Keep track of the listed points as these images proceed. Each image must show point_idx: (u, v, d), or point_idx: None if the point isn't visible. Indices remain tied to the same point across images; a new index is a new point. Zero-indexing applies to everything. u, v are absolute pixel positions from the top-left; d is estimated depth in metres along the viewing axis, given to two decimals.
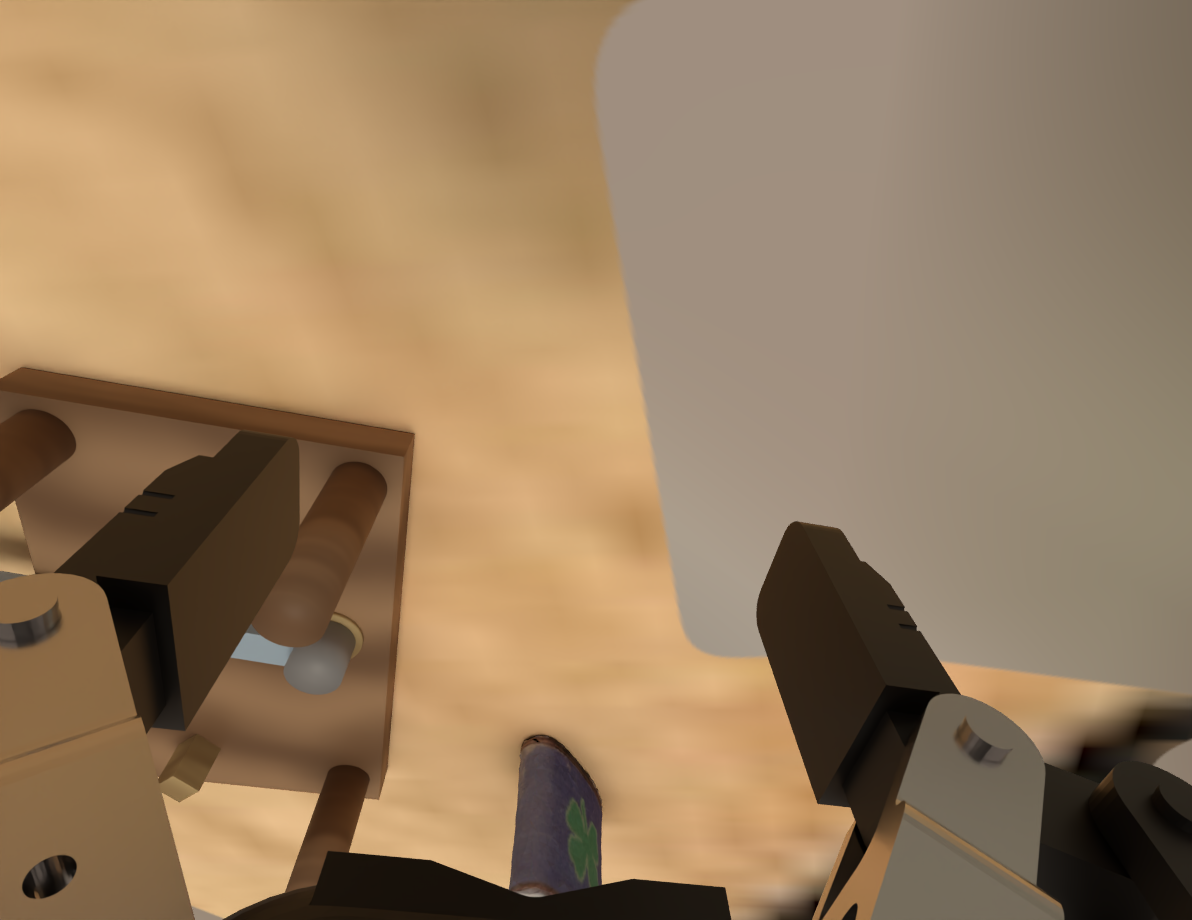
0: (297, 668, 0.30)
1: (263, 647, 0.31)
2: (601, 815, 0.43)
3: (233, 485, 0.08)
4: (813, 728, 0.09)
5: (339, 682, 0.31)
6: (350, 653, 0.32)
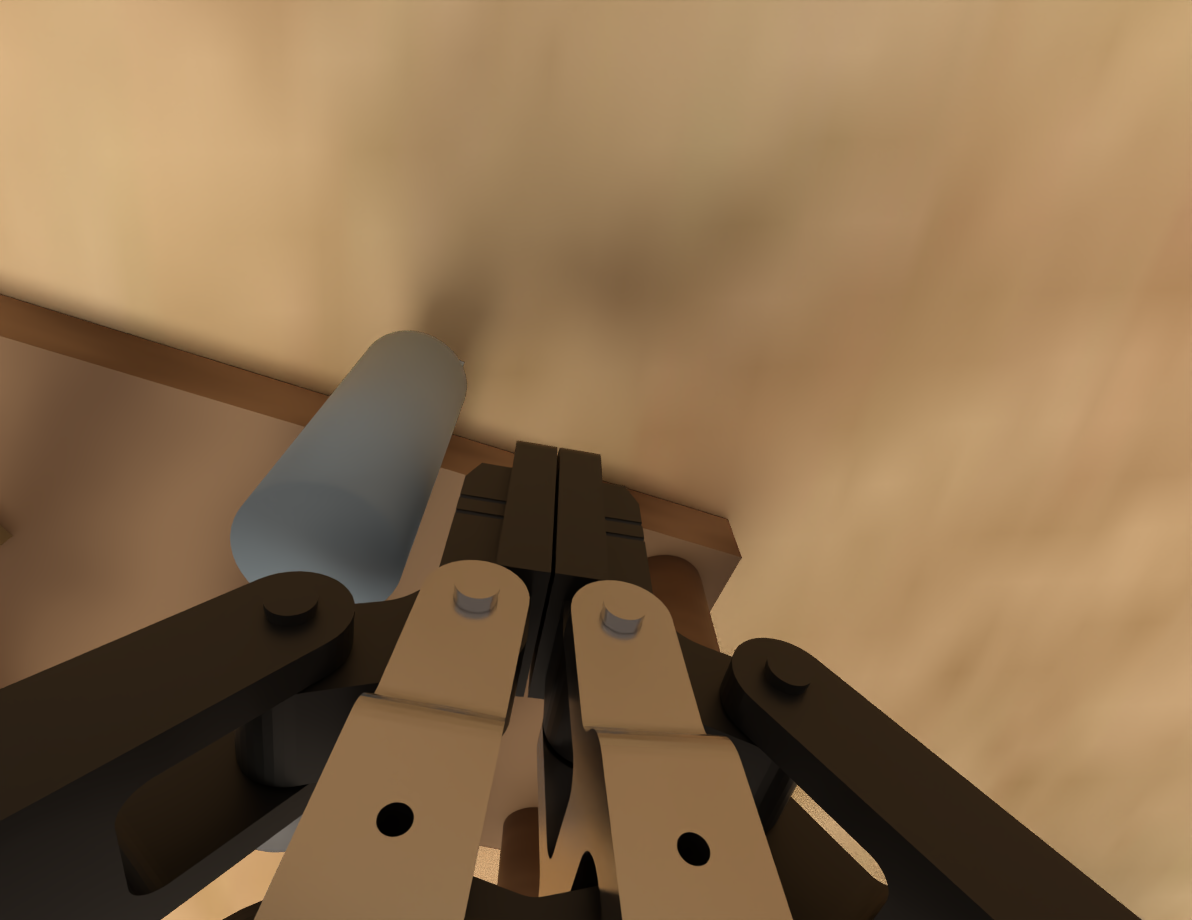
0: None
1: None
2: None
3: (543, 489, 0.10)
4: None
5: None
6: None
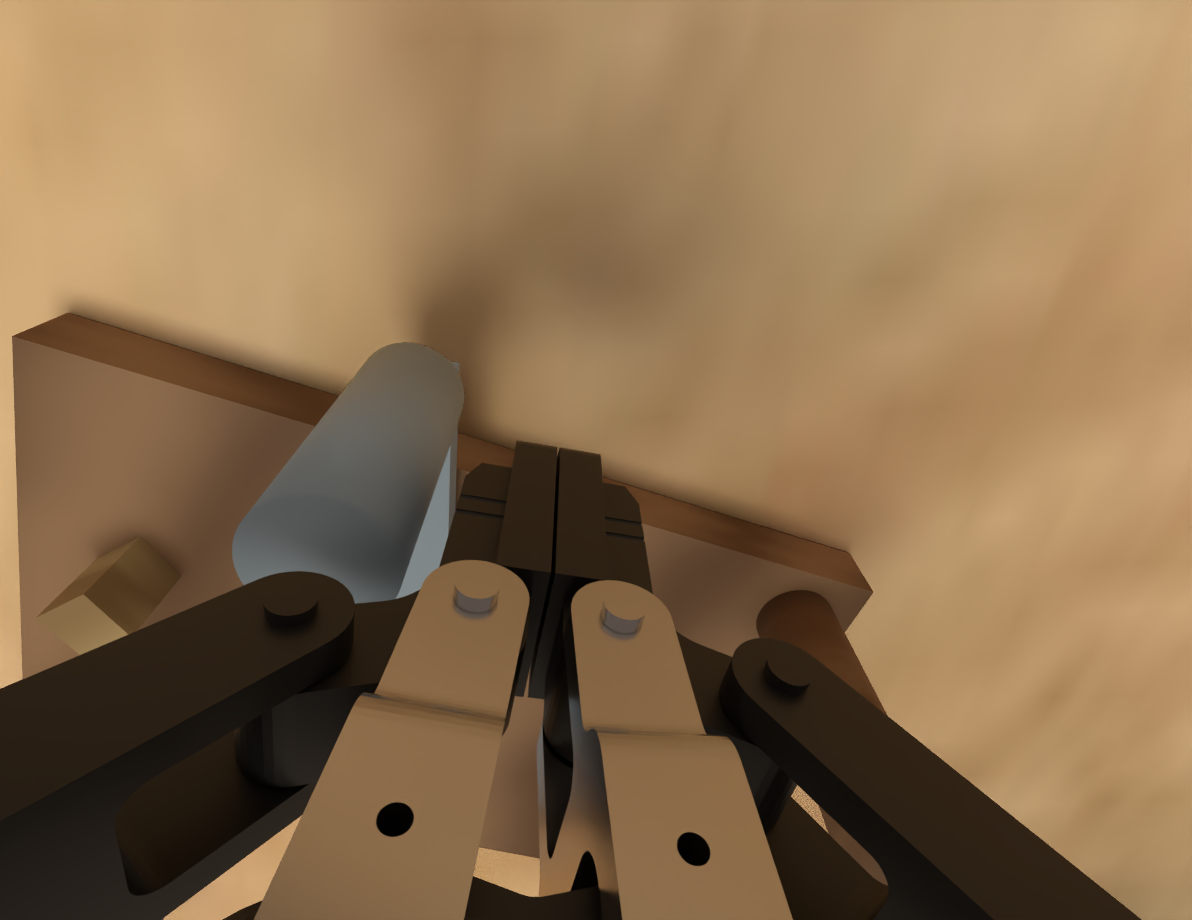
0: None
1: None
2: None
3: (543, 489, 0.10)
4: None
5: None
6: None
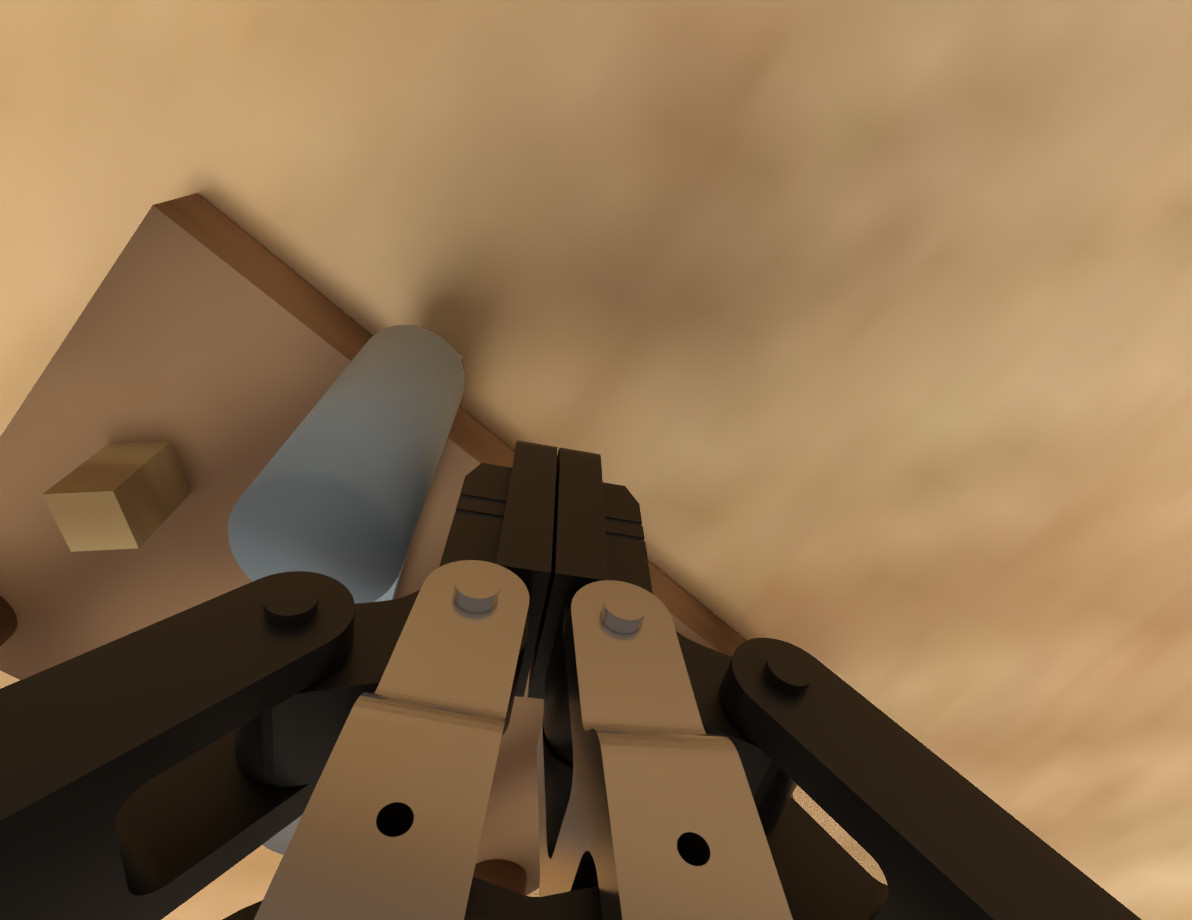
0: None
1: None
2: None
3: (542, 489, 0.10)
4: None
5: (283, 853, 0.22)
6: None
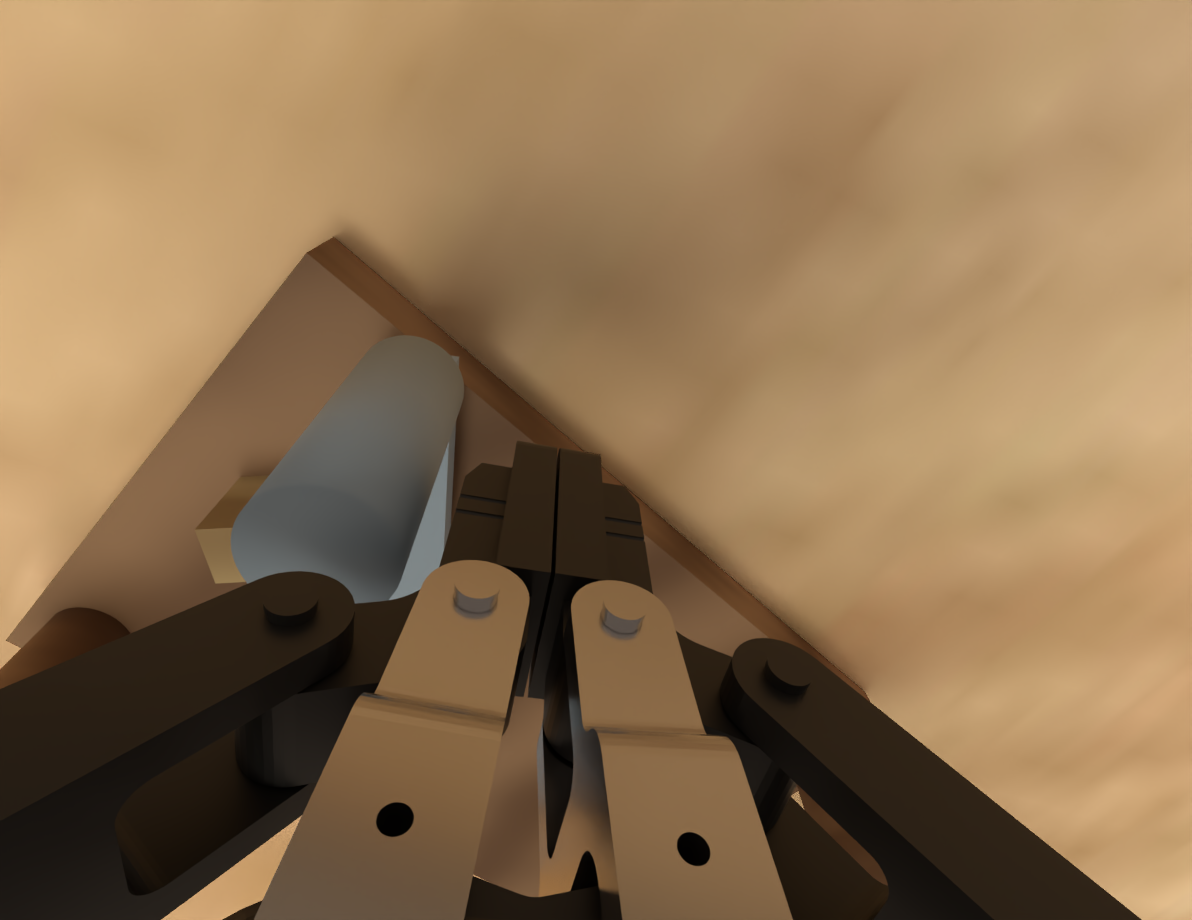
0: None
1: None
2: None
3: (543, 489, 0.10)
4: None
5: None
6: None
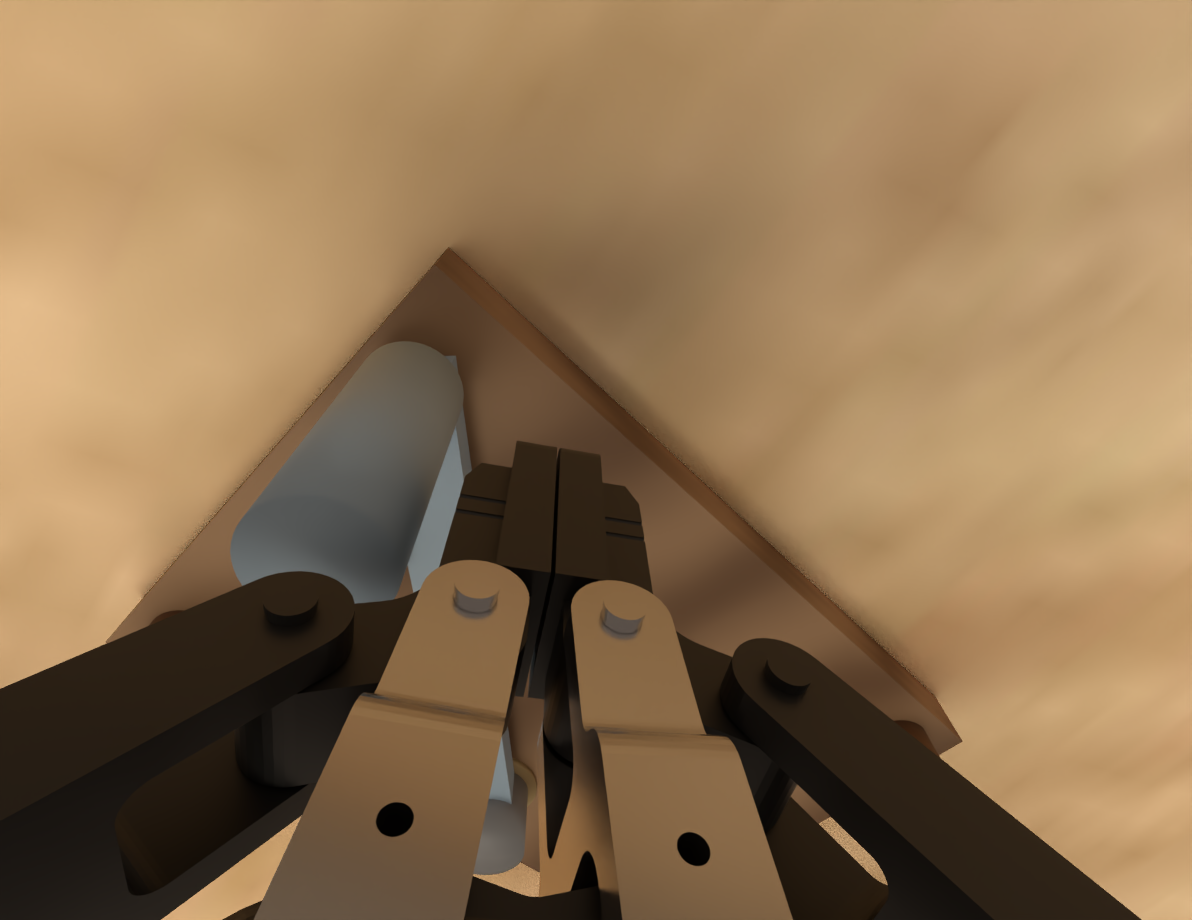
0: (491, 838, 0.22)
1: None
2: None
3: (543, 489, 0.10)
4: None
5: (483, 873, 0.23)
6: None
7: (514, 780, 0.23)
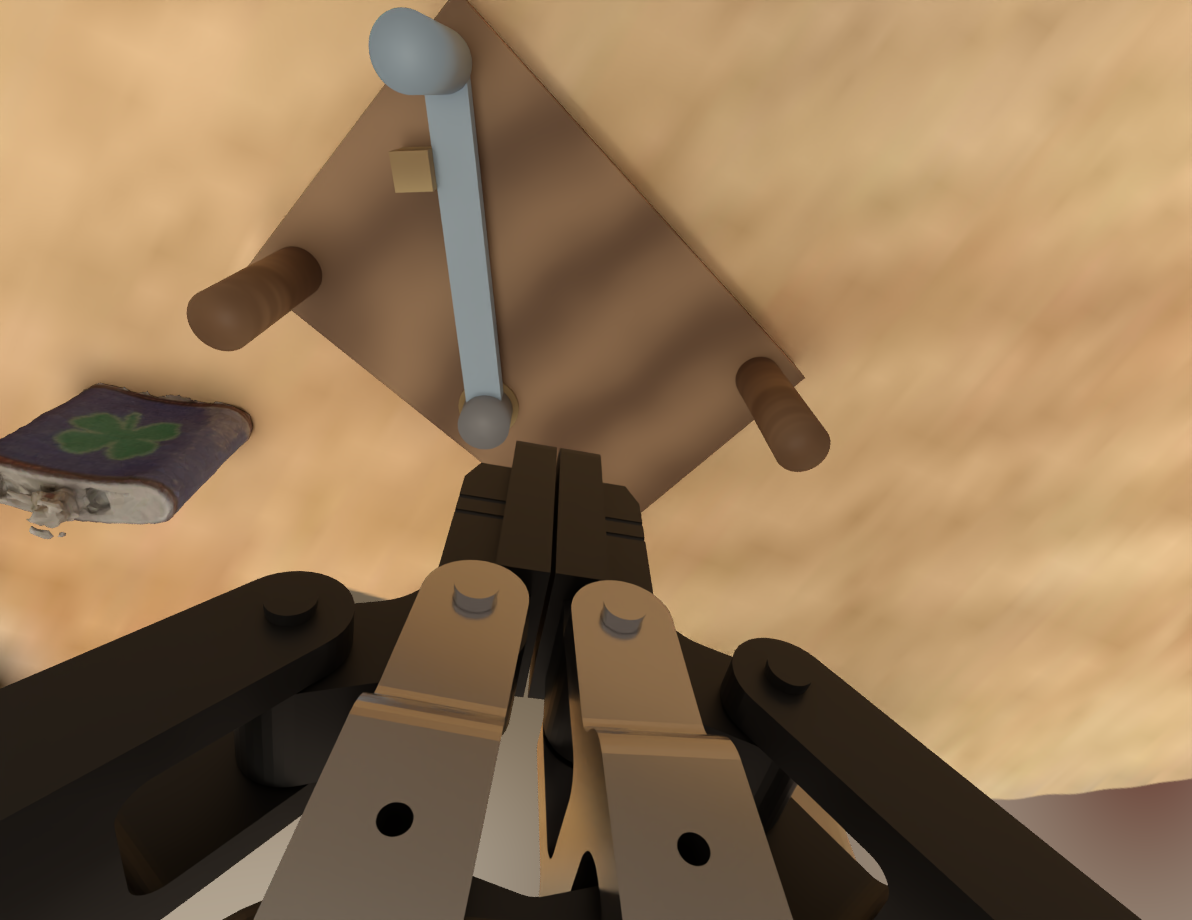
0: (487, 414, 0.34)
1: (482, 371, 0.34)
2: None
3: (542, 489, 0.10)
4: None
5: (482, 448, 0.35)
6: None
7: (503, 394, 0.35)
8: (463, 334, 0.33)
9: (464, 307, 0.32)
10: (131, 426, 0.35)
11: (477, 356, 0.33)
